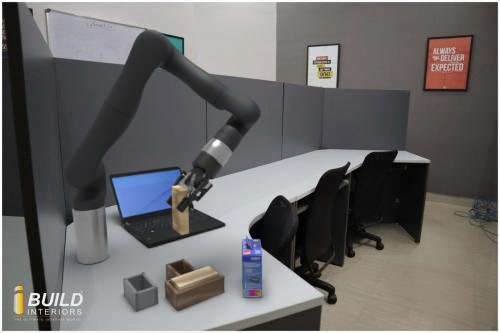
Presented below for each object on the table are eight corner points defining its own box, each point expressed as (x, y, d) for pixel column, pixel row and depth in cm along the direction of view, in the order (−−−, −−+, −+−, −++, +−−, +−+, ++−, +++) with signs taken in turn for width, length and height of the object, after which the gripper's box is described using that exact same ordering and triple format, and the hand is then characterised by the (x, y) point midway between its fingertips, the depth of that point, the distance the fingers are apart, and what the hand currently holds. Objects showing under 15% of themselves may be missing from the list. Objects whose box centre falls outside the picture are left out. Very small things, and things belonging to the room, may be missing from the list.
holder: (124, 294, 88) (123, 278, 87) (145, 287, 92) (144, 272, 91) (136, 311, 81) (135, 294, 80) (158, 303, 85) (157, 286, 84)
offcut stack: (170, 298, 87) (169, 279, 86) (209, 283, 94) (209, 265, 93) (179, 307, 83) (178, 287, 82) (219, 291, 90) (218, 273, 89)
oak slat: (172, 228, 93) (171, 186, 90) (179, 226, 94) (178, 185, 91) (182, 235, 88) (180, 191, 86) (188, 233, 90) (187, 189, 87)
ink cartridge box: (241, 278, 97) (241, 230, 94) (260, 277, 97) (261, 230, 94) (241, 298, 87) (242, 246, 84) (262, 298, 87) (264, 246, 84)
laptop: (148, 250, 114) (145, 195, 111) (111, 219, 142) (107, 174, 139) (226, 227, 136) (226, 180, 132) (181, 204, 164) (179, 165, 160)
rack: (152, 283, 94) (151, 268, 93) (196, 268, 102) (195, 255, 101) (177, 311, 82) (177, 294, 81) (224, 292, 90) (224, 276, 89)
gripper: (191, 146, 97) (152, 193, 92) (218, 153, 86) (176, 207, 81) (207, 162, 101) (171, 208, 96) (235, 171, 90) (196, 223, 85)
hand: (173, 207), depth 89 cm, fingers closed on oak slat, 5 cm apart
